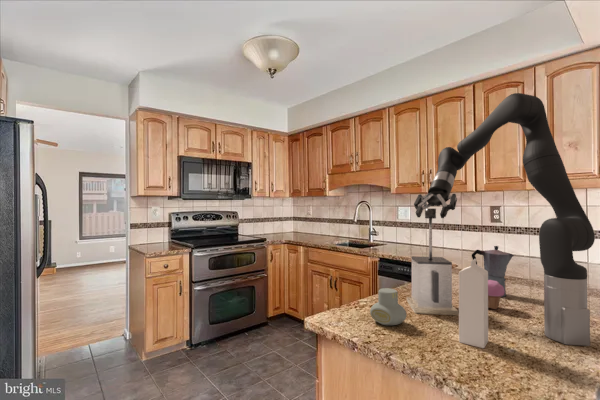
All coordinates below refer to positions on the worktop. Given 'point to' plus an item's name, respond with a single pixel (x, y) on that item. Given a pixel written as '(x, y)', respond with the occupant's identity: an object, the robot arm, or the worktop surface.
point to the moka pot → (495, 264)
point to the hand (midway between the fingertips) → (429, 216)
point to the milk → (473, 305)
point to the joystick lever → (430, 227)
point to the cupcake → (494, 293)
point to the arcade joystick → (431, 286)
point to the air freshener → (388, 308)
